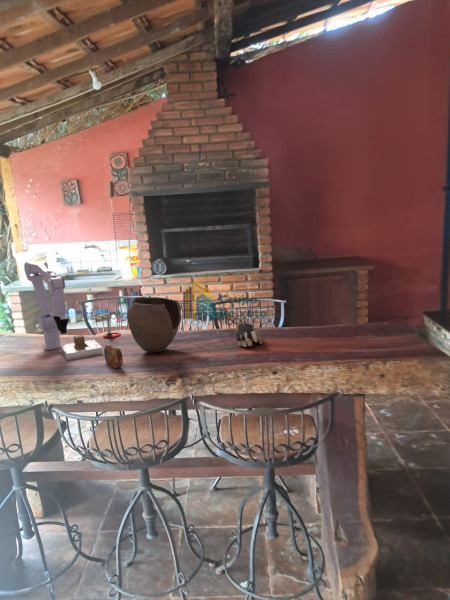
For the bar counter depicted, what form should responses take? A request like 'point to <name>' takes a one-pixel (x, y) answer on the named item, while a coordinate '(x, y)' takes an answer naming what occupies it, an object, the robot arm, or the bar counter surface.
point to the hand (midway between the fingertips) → (62, 332)
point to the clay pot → (154, 322)
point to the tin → (113, 356)
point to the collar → (81, 350)
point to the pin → (79, 341)
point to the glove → (247, 334)
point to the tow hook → (109, 334)
